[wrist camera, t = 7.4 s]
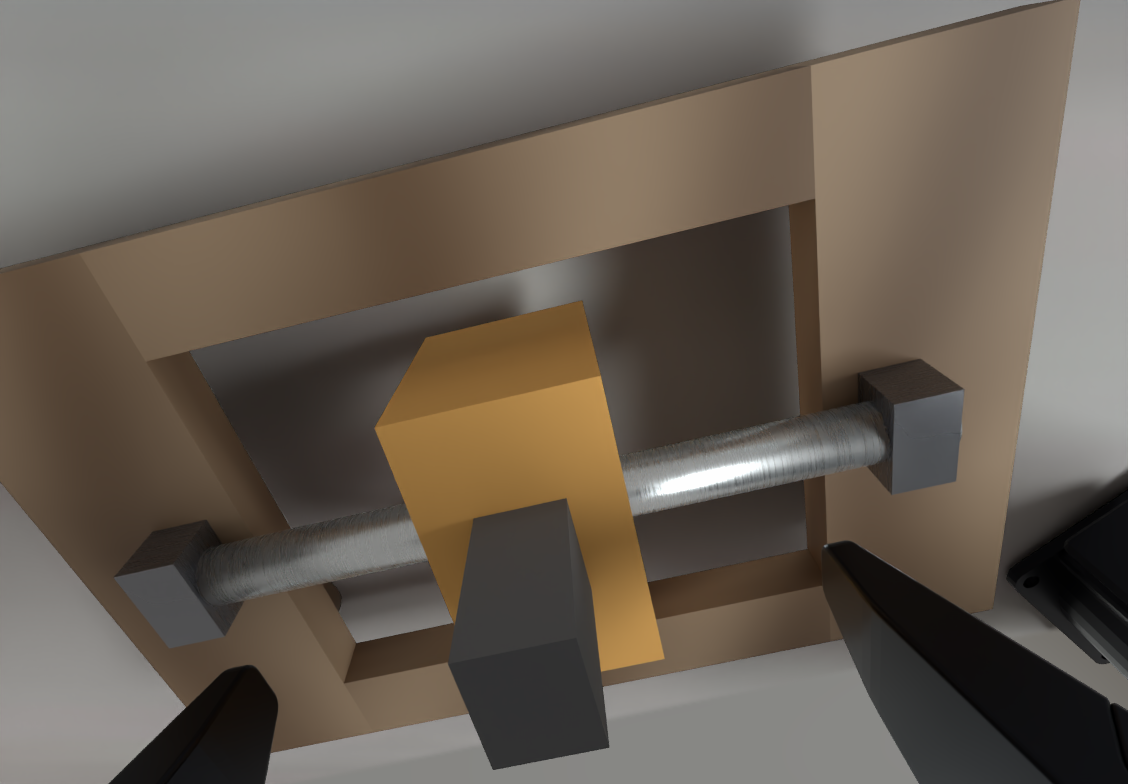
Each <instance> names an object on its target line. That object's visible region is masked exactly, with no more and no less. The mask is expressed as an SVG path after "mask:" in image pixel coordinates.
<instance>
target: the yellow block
mask: <svg viewBox="0 0 1128 784" xmlns="http://www.w3.org/2000/svg"><path fill="white" fill-rule="evenodd" d="M375 431H376V433H377V436H378V438H379V440H380V443H381V445H382V448H383V450H384V453H385V455H386V458H387V460H388V463H389V465H390V468H391V470H392V472H393V475H394V477H395V480H396V482H397V485H398V487H399V490H400V492H401V495H402V497H403V500H404V502H405V504H406V507H407V509H408V512H409V514H410V517H411V519H412V522H413V524H414V527H415V529H416V532H417V534H418V537H419V539H420V541H421V544H422V546H423V549H424V551H425V554H426V556H427V559H428V561H429V564H430V566H431V569H432V571H433V573H434V576H435V578H436V581H437V583H438V586H439V588H440V591H441V593H442V596H443V598H444V601H445V603H446V605H447V608H448V610H449V613H450V615H451V618H452V620H453V623H454V625H455V626H454V632H453V638H452V643H451V649H450V655H449V660H448V666H449V668H450V670H451V673H452V675H453V677H454V680H455V682H456V684H457V687H458V689H459V691H460V694H461V696H462V698H463V701H464V703H465V705H466V708H467V710H468V712H469V715H470V717H471V719H472V722H473V724H474V726H475V729H476V731H477V733H478V736H479V738H480V741H481V743H482V745H483V748H484V750H485V752H486V755H487V757H488V759H489V761H490V764H491V766H492V769H493V770H496V769H501V768H506V767H511V766H516V765H522V764H527V763H531V762H537V761H542V760H548V759H553V758H557V757H563V756H568V755H573V754H579V753H584V752H589V751H594V750H599V749H604V748H609V740H608V731H607V722H606V713H605V704H604V695H603V686H602V677H601V672H602V671H607V670H612V669H617V668H622V667H627V666H632V665H637V664H642V663H647V662H652V661H657V660H662V659H665V658H664V653H663V649H662V644H661V640H660V636H659V631H658V627H657V622H656V618H655V613H654V609H653V605H652V600H651V596H650V591H649V587H648V582H647V578H646V574H645V569H644V565H643V560H642V556H641V552H640V547H639V543H638V538H637V534H636V529H635V525H634V521H633V516H632V512H631V507H630V503H629V498H628V494H627V490H626V485H625V481H624V476H623V472H622V468H621V463H620V459H619V454H618V450H617V445H616V441H615V437H614V432H613V428H612V423H611V419H610V414H609V410H608V406H607V401H606V397H605V392H604V388H603V384H602V379H601V375H600V371H599V367H598V363H597V359H596V355H595V351H594V347H593V343H592V339H591V334H590V330H589V326H588V322H587V318H586V314H585V310H584V306H583V302H582V301H578V302H574V303H569V304H565V305H561V306H557V307H553V308H548V309H544V310H540V311H536V312H532V313H527V314H523V315H519V316H515V317H511V318H506V319H502V320H498V321H494V322H490V323H485V324H481V325H477V326H473V327H469V328H464V329H460V330H456V331H452V332H448V333H443V334H439V335H435V336H431V337H427V338H425V340H424V342H423V343H422V345H421V347H420V349H419V350H418V352H417V354H416V356H415V357H414V359H413V361H412V363H411V364H410V366H409V368H408V370H407V372H406V373H405V375H404V377H403V379H402V380H401V382H400V384H399V386H398V387H397V389H396V391H395V393H394V394H393V396H392V398H391V400H390V401H389V403H388V405H387V407H386V408H385V410H384V412H383V414H382V415H381V417H380V419H379V421H378V422H377V424H376V426H375Z"/></svg>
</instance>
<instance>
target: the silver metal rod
mask: <svg viewBox="0 0 1128 784" xmlns="http://www.w3.org/2000/svg"><path fill="white" fill-rule="evenodd" d="M964 390H965V389H963V388H962V387H961V386H959V385H958V384H956V383H955V382H953V381H952V380H951V379H949V378H948V377H946V376H945V375H943V374H942V373H941V372H939V371H938V370H936V369H935V368H933V367H932V366H931V365H929V364H928V363H926V362H925V361H923V360H922V359H917V360H912V361H908V362H904V363H899V364H895V365H890V366H886V367H881V368H877V369H873V370H868V371H864V372H859V373H858V403H856V404H851V405H847V406H842V407H838V408H833V409H829V410H824V411H820V412H815V413H811V414H806V415H802V416H797V417H793V418H788V419H784V420H779V421H775V422H770V423H766V424H761V425H757V426H752V427H748V428H743V429H739V430H734V431H730V432H725V433H721V434H716V435H712V436H707V437H703V438H698V439H694V440H689V441H685V442H680V443H676V444H671V445H667V446H662V447H658V448H653V449H649V450H644V451H640V452H635V453H631V454H626V455H622V456H619V459H620V463H621V468H622V472H623V476H624V481H625V485H626V490H627V494H628V498H629V503H630V507H631V512H632V516H633V517H634V516H638V515H643V514H648V513H652V512H657V511H661V510H666V509H671V508H675V507H680V506H685V505H689V504H694V503H698V502H703V501H708V500H712V499H717V498H722V497H726V496H731V495H736V494H740V493H745V492H749V491H754V490H759V489H763V488H768V487H773V486H777V485H782V484H787V483H791V482H796V481H800V480H805V479H810V478H814V477H819V476H824V475H828V474H833V473H838V472H842V471H847V470H851V469H856V468H861V467H865V466H867V468H868V469H869V470H870V471H871V472H872V473H873V474H874V475H875V477H876V478H877V479H878V480H879V481H880V482H881V483H882V485H883V486H884V487H885V488H886V489H887V490H888V491H889V492H890V494H891V495H894V494H899V493H904V492H909V491H913V490H918V489H923V488H927V487H932V486H937V485H942V484H946V483H951V482H956V477H957V467H958V456H959V445H960V440H961V437H962V412H963V401H964ZM425 561H428V559H427V556H426V554H425V551H424V549H423V546H422V544H421V541H420V539H419V537H418V534H417V532H416V529H415V527H414V524H413V522H412V519H411V517H410V514H409V512H408V509H407V507H406V504H401V505H397V506H392V507H388V508H383V509H379V510H374V511H370V512H365V513H361V514H356V515H352V516H347V517H343V518H338V519H334V520H329V521H325V522H320V523H316V524H311V525H307V526H302V527H298V528H293V529H289V530H284V531H280V532H275V533H271V534H266V535H262V536H257V537H253V538H248V539H244V540H239V541H235V542H230V543H226V544H222V543H221V541H220V540H219V538H218V536H217V535H216V533H215V532H214V530H213V529H212V527H211V526H210V524H209V523H208V521H207V520H202V521H198V522H193V523H189V524H184V525H180V526H175V527H171V528H167V529H162V530H158V531H153V532H152V533H151V534H150V535H149V536H148V537H147V538H146V540H145V541H144V542H143V543H142V544H141V546H140V547H139V548H138V549H137V550H136V551H135V553H134V554H133V555H132V556H131V557H130V559H129V560H128V561H127V562H126V563H125V564H124V566H123V567H122V568H121V569H120V570H119V572H118V573H117V574H116V575H115V576H114V577H113V578H114V579H115V580H116V582H117V583H118V584H119V585H120V587H121V588H122V589H123V590H124V592H125V593H126V594H127V596H128V597H129V598H130V599H131V601H132V602H133V603H134V604H135V606H136V607H137V608H138V609H139V611H140V612H141V613H142V615H143V616H144V617H145V618H146V620H147V621H148V622H149V623H150V625H151V626H152V627H153V628H154V630H155V631H156V632H157V634H158V635H159V636H160V637H161V639H162V640H163V641H164V642H165V644H166V645H167V646H168V647H169V649H170V648H174V647H179V646H184V645H188V644H193V643H198V642H202V641H207V640H212V639H217V638H221V637H225V636H226V634H227V632H228V630H229V628H230V627H231V625H232V623H233V621H234V619H235V617H236V616H237V614H238V612H239V610H240V608H241V607H242V605H243V603H244V601H245V600H249V599H254V598H258V597H263V596H268V595H272V594H277V593H281V592H286V591H291V590H295V589H300V588H305V587H309V586H314V585H319V584H323V583H328V582H332V581H337V580H342V579H346V578H351V577H356V576H360V575H365V574H369V573H374V572H379V571H383V570H388V569H393V568H397V567H402V566H407V565H411V564H416V563H420V562H425Z"/></svg>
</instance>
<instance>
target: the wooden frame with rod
mask: <svg viewBox="0 0 1128 784" xmlns="http://www.w3.org/2000/svg"><path fill="white" fill-rule="evenodd" d="M1079 6H1080V0H1054V1H1048V2H1042V3H1035V4H1029V5H1023V6H1019V7H1015V8H1011V9H1007V10H1003V11H999V12H995V13H991V14H988V15H984V16H980V17H976V18H972V19H968V20H964V21H960V22H956V23H953V24H949V25H945V26H941V27H937V28H933V29H929V30H925V31H921V32H918V33H914V34H910V35H906V36H902V37H898V38H894V39H890V40H887V41H883V42H879V43H875V44H871V45H867V46H863V47H859V48H855V49H852V50H848V51H844V52H840V53H836V54H832V55H828V56H824V57H820V58H817V59H813V60H809V61H805V62H801V63H797V64H793V65H789V66H786V67H782V68H778V69H774V70H770V71H766V72H762V73H758V74H754V75H751V76H747V77H743V78H739V79H735V80H731V81H727V82H723V83H719V84H716V85H712V86H708V87H704V88H700V89H696V90H692V91H688V92H684V93H681V94H677V95H673V96H669V97H665V98H661V99H657V100H653V101H650V102H646V103H642V104H638V105H634V106H630V107H626V108H622V109H618V110H615V111H611V112H607V113H603V114H599V115H595V116H591V117H587V118H583V119H580V120H576V121H572V122H568V123H564V124H560V125H556V126H552V127H549V128H545V129H541V130H537V131H533V132H529V133H525V134H521V135H517V136H514V137H510V138H506V139H502V140H498V141H494V142H490V143H486V144H482V145H479V146H475V147H471V148H467V149H463V150H459V151H455V152H451V153H447V154H444V155H440V156H436V157H432V158H428V159H424V160H420V161H416V162H413V163H409V164H405V165H401V166H397V167H393V168H389V169H385V170H381V171H378V172H374V173H370V174H366V175H362V176H358V177H354V178H350V179H346V180H343V181H339V182H335V183H331V184H327V185H323V186H319V187H315V188H312V189H308V190H304V191H300V192H296V193H292V194H288V195H284V196H280V197H277V198H273V199H269V200H265V201H261V202H257V203H253V204H249V205H245V206H242V207H238V208H234V209H230V210H226V211H222V212H218V213H214V214H211V215H207V216H203V217H199V218H195V219H191V220H187V221H183V222H179V223H176V224H172V225H168V226H164V227H160V228H156V229H152V230H148V231H144V232H141V233H137V234H133V235H129V236H125V237H121V238H117V239H113V240H109V241H106V242H102V243H98V244H94V245H90V246H86V247H82V248H78V249H75V250H71V251H67V252H63V253H59V254H55V255H51V256H47V257H43V258H40V259H36V260H32V261H28V262H24V263H20V264H16V265H12V266H8V267H5V268H1V269H0V482H1V483H2V485H3V486H4V487H5V488H6V490H7V491H8V492H9V493H10V494H11V496H12V497H13V498H14V499H15V500H16V502H17V503H18V504H19V505H20V506H21V508H22V509H23V510H24V511H25V513H26V514H27V515H28V516H29V517H30V519H31V520H32V521H33V522H34V523H35V525H36V526H37V527H38V528H39V529H40V531H41V532H42V533H43V534H44V536H45V537H46V538H47V539H48V540H49V542H50V543H51V544H52V545H53V546H54V548H55V549H56V550H57V551H58V553H59V554H60V555H61V556H62V557H63V559H64V560H65V561H66V562H67V563H68V565H69V566H70V567H71V568H72V569H73V571H74V572H75V573H76V574H77V576H78V577H79V578H80V579H81V580H82V582H83V583H84V584H85V585H86V586H87V588H88V589H89V590H90V591H91V592H92V594H93V595H94V596H95V597H96V599H97V600H98V601H99V602H100V603H101V605H102V606H103V607H104V608H105V609H106V611H107V612H108V613H109V614H110V616H111V617H112V618H113V619H114V620H115V622H116V623H117V624H118V625H119V626H120V628H121V629H122V630H123V631H124V632H125V634H126V635H127V636H128V637H129V639H130V640H131V641H132V642H133V643H134V645H135V646H136V647H137V648H138V649H139V651H140V652H141V653H142V654H143V655H144V657H145V658H146V659H147V660H148V662H149V663H150V664H151V665H152V666H153V668H154V669H155V670H156V671H157V672H158V674H159V675H160V676H161V677H162V679H163V680H164V681H165V682H166V683H167V685H168V686H169V687H170V688H171V689H172V691H173V692H174V693H175V694H176V695H177V697H178V698H179V699H180V700H181V702H182V703H183V704H184V705H185V706H186V707H187V706H188V705H189V704H190V703H191V702H192V701H193V700H194V699H195V698H196V697H197V696H198V695H199V694H200V693H202V692H203V691H204V690H205V689H206V688H207V687H208V686H209V685H210V684H211V683H212V682H213V681H214V680H215V679H216V678H217V677H218V676H219V675H220V674H221V673H222V672H223V671H225V670H227V669H229V668H234V667H239V666H243V665H253V666H255V667H256V668H257V669H258V670H259V671H260V673H261V674H262V676H263V677H264V678H265V680H266V681H267V683H268V684H269V685H270V687H271V688H272V690H273V691H274V693H275V694H276V696H277V699H278V716H277V721H276V727H275V732H274V737H273V743H272V748H271V753H273V752H278V751H283V750H288V749H293V748H298V747H303V746H308V745H313V744H318V743H323V742H328V741H333V740H338V739H343V738H348V737H353V736H358V735H363V734H368V733H373V732H378V731H383V730H388V729H393V728H398V727H403V726H408V725H413V724H418V723H423V722H428V721H433V720H438V719H443V718H448V717H453V716H458V715H463V714H469V712H468V710H467V708H466V705H465V703H464V701H463V698H462V696H461V694H460V691H459V689H458V687H457V684H456V682H455V680H454V677H453V675H452V673H451V670H450V668H449V666H448V660H449V655H450V649H451V643H452V638H453V632H454V626H455V625H454V623H451V624H447V625H442V626H437V627H432V628H427V629H423V630H418V631H413V632H408V633H404V634H399V635H394V636H389V637H384V638H380V639H375V640H370V641H365V642H360V643H356V642H355V640H354V638H353V637H352V635H351V633H350V632H349V630H348V628H347V626H346V625H345V623H344V621H343V619H342V618H341V616H340V614H339V609H340V606H341V595H340V593H339V591H338V589H337V588H336V587H335V586H334V585H333V584H332V583H330V582H328V583H323V584H319V585H314V586H309V587H305V588H300V589H295V590H291V591H286V592H281V593H277V594H272V595H268V596H263V597H258V598H254V599H249V600H245V601H244V603H243V605H242V607H241V608H240V610H239V612H238V614H237V616H236V617H235V619H234V621H233V623H232V625H231V627H230V628H229V630H228V632H227V634H226V636H225V637H221V638H217V639H212V640H207V641H202V642H198V643H193V644H188V645H184V646H179V647H174V648H170V649H169V647H168V646H167V645H166V644H165V642H164V641H163V640H162V639H161V637H160V636H159V635H158V634H157V632H156V631H155V630H154V628H153V627H152V626H151V625H150V623H149V622H148V621H147V620H146V618H145V617H144V616H143V615H142V613H141V612H140V611H139V609H138V608H137V607H136V606H135V604H134V603H133V602H132V601H131V599H130V598H129V597H128V596H127V594H126V593H125V592H124V590H123V589H122V588H121V587H120V585H119V584H118V583H117V582H116V580H115V579H114V578H113V577H114V576H115V575H116V574H117V573H118V572H119V570H120V569H121V568H122V567H123V566H124V564H125V563H126V562H127V561H128V560H129V559H130V557H131V556H132V555H133V554H134V553H135V551H136V550H137V549H138V548H139V547H140V546H141V544H142V543H143V542H144V541H145V540H146V538H147V537H148V536H149V535H150V534H151V533H152V532H153V531H158V530H162V529H167V528H171V527H175V526H180V525H184V524H189V523H193V522H198V521H202V520H207V521H208V523H209V524H210V526H211V527H212V529H213V530H214V532H215V533H216V535H217V536H218V538H219V540H220V541H221V543H222V544H226V543H230V542H235V541H239V540H244V539H248V538H253V537H257V536H262V535H266V534H271V533H275V532H280V531H284V530H289V529H291V528H290V527H289V525H288V523H287V521H286V520H285V518H284V516H283V514H282V513H281V511H280V509H279V508H278V506H277V504H276V502H275V501H274V499H273V497H272V495H271V494H270V492H269V490H268V488H267V487H266V485H265V483H264V481H263V480H262V478H261V476H260V474H259V473H258V471H257V469H256V467H255V466H254V464H253V462H252V460H251V459H250V457H249V455H248V453H247V452H246V450H245V448H244V446H243V445H242V443H241V441H240V439H239V438H238V436H237V434H236V432H235V431H234V429H233V427H232V425H231V424H230V422H229V420H228V418H227V417H226V415H225V413H224V411H223V410H222V408H221V406H220V404H219V403H218V401H217V399H216V397H215V396H214V394H213V392H212V390H211V389H210V387H209V385H208V384H207V382H206V380H205V378H204V377H203V375H202V373H201V371H200V370H199V368H198V366H197V364H196V363H195V361H194V359H193V357H192V356H191V354H190V352H189V351H191V350H195V349H199V348H204V347H208V346H212V345H216V344H220V343H224V342H228V341H232V340H236V339H240V338H245V337H249V336H253V335H257V334H261V333H265V332H269V331H273V330H277V329H282V328H286V327H290V326H294V325H298V324H302V323H306V322H310V321H314V320H319V319H323V318H327V317H331V316H335V315H339V314H343V313H347V312H351V311H355V310H360V309H364V308H368V307H372V306H376V305H380V304H384V303H388V302H392V301H397V300H401V299H405V298H409V297H413V296H417V295H421V294H425V293H429V292H433V291H438V290H442V289H446V288H450V287H454V286H458V285H462V284H466V283H470V282H475V281H479V280H483V279H487V278H491V277H495V276H499V275H503V274H507V273H512V272H516V271H520V270H524V269H528V268H532V267H536V266H540V265H544V264H548V263H553V262H557V261H561V260H565V259H569V258H573V257H577V256H581V255H585V254H590V253H594V252H598V251H602V250H606V249H610V248H614V247H618V246H622V245H626V244H631V243H635V242H639V241H643V240H647V239H651V238H655V237H659V236H663V235H668V234H672V233H676V232H680V231H684V230H688V229H692V228H696V227H700V226H705V225H709V224H713V223H717V222H721V221H725V220H729V219H733V218H737V217H741V216H746V215H750V214H754V213H758V212H762V211H766V210H770V209H774V208H778V207H783V206H787V205H789V217H790V236H791V254H792V272H793V291H794V309H795V327H796V345H797V364H798V382H799V400H800V416H802V415H806V414H811V413H815V412H820V411H824V410H829V409H833V408H838V407H842V406H847V405H851V404H856V403H858V373H859V372H864V371H868V370H873V369H877V368H881V367H886V366H890V365H895V364H899V363H904V362H908V361H912V360H917V359H922V360H923V361H925V362H926V363H928V364H929V365H931V366H932V367H933V368H935V369H936V370H938V371H939V372H941V373H942V374H943V375H945V376H946V377H948V378H949V379H951V380H952V381H953V382H955V383H956V384H958V385H959V386H961V387H962V388H963V389H965V390H964V401H963V412H962V437H961V440H960V445H959V456H958V467H957V477H956V482H951V483H946V484H942V485H937V486H932V487H927V488H923V489H918V490H913V491H909V492H904V493H899V494H894V495H891V494H890V492H889V491H888V490H887V489H886V488H885V487H884V486H883V485H882V483H881V482H880V481H879V480H878V479H877V478H876V477H875V475H874V474H873V473H872V472H871V471H870V470H869V469H868V468H867V466H865V467H861V468H856V469H851V470H847V471H842V472H838V473H833V474H828V475H824V476H819V477H814V478H810V479H805V480H804V492H805V510H806V528H807V547H808V549H806V550H801V551H796V552H791V553H787V554H782V555H777V556H772V557H767V558H763V559H758V560H753V561H748V562H744V563H739V564H734V565H729V566H724V567H720V568H715V569H710V570H705V571H700V572H696V573H691V574H686V575H681V576H676V577H672V578H667V579H662V580H657V581H653V582H648V587H649V591H650V596H651V600H652V605H653V609H654V613H655V618H656V622H657V627H658V631H659V636H660V640H661V644H662V649H663V653H664V658H665V659H662V660H657V661H652V662H647V663H642V664H637V665H632V666H627V667H622V668H617V669H612V670H607V671H602V672H601V677H602V686H603V687H604V686H609V685H614V684H619V683H624V682H629V681H634V680H639V679H644V678H649V677H654V676H659V675H664V674H669V673H674V672H679V671H684V670H689V669H694V668H699V667H704V666H709V665H714V664H720V663H725V662H730V661H735V660H740V659H745V658H750V657H755V656H760V655H765V654H770V653H775V652H780V651H785V650H790V649H795V648H800V647H805V646H810V645H815V644H820V643H825V642H830V641H835V640H840V639H844V638H843V636H842V634H841V632H840V629H839V627H838V625H837V623H836V620H835V618H834V616H833V614H832V611H831V609H830V607H829V605H828V602H827V600H826V597H825V594H824V591H823V586H822V566H821V550H822V547H823V546H824V545H826V544H830V543H835V542H839V541H844V540H849V541H852V542H855V543H856V544H858V545H860V546H861V547H863V548H864V549H866V550H868V551H869V552H871V553H873V554H874V555H876V556H877V557H879V558H881V559H882V560H884V561H886V562H887V563H889V564H890V565H892V566H894V567H895V568H897V569H899V570H900V571H902V572H903V573H905V574H907V575H908V576H910V577H912V578H913V579H915V580H916V581H918V582H920V583H921V584H923V585H925V586H926V587H928V588H929V589H931V590H933V591H934V592H936V593H938V594H939V595H941V596H942V597H944V598H946V599H947V600H949V601H951V602H952V603H954V604H955V605H957V606H959V607H960V608H962V609H964V610H965V611H967V612H968V613H970V614H971V613H976V612H981V611H986V610H991V609H993V604H994V597H995V590H996V583H997V576H998V569H999V562H1000V555H1001V548H1002V541H1003V534H1004V527H1005V520H1006V514H1007V507H1008V500H1009V493H1010V486H1011V479H1012V472H1013V465H1014V458H1015V451H1016V444H1017V437H1018V430H1019V423H1020V416H1021V409H1022V402H1023V395H1024V388H1025V382H1026V375H1027V368H1028V361H1029V354H1030V347H1031V340H1032V333H1033V326H1034V319H1035V312H1036V305H1037V298H1038V291H1039V284H1040V277H1041V270H1042V263H1043V256H1044V249H1045V243H1046V236H1047V229H1048V222H1049V215H1050V208H1051V201H1052V194H1053V187H1054V180H1055V173H1056V166H1057V159H1058V152H1059V145H1060V138H1061V131H1062V124H1063V117H1064V110H1065V104H1066V97H1067V90H1068V83H1069V76H1070V69H1071V62H1072V55H1073V48H1074V41H1075V34H1076V27H1077V20H1078V13H1079Z"/></svg>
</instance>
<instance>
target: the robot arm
mask: <svg viewBox="0 0 1128 784" xmlns="http://www.w3.org/2000/svg"><path fill="white" fill-rule="evenodd" d="M821 566H822V586H823V591H824V594H825V597H826V600H827V602H828V605H829V607H830V609H831V611H832V614H833V616H834V618H835V620H836V623H837V625H838V627H839V629H840V632H841V634H842V636H843V638H844V641H845V643H846V645H847V647H848V650H849V652H850V654H851V656H852V659H853V661H854V663H855V665H856V668H857V670H858V672H859V674H860V677H861V679H862V681H863V683H864V686H865V688H866V690H867V692H868V694H869V696H870V698H871V700H872V702H873V704H874V706H875V708H876V709H877V711H878V713H879V715H880V717H881V718H882V720H883V722H884V724H885V725H886V727H887V729H888V731H889V732H890V734H891V736H892V737H893V739H894V741H895V743H896V745H897V746H898V748H899V750H900V751H901V753H902V755H903V757H904V758H905V760H906V762H907V764H908V765H909V767H910V769H911V771H912V772H913V774H914V776H915V778H916V779H917V781H918V783H919V784H1128V710H1126V709H1125V708H1123V707H1122V706H1120V705H1118V704H1116V703H1112V704H1110V702H1109V700H1108V698H1106V697H1105V696H1103V695H1102V694H1100V693H1098V692H1097V691H1095V690H1093V689H1092V688H1090V687H1088V686H1087V685H1085V684H1084V683H1082V682H1080V681H1079V680H1077V679H1075V678H1074V677H1072V676H1071V675H1069V674H1067V673H1066V672H1064V671H1063V670H1061V669H1059V668H1058V667H1056V666H1054V665H1053V664H1051V663H1049V662H1048V661H1046V660H1045V659H1043V658H1041V657H1040V656H1038V655H1037V654H1035V653H1033V652H1032V651H1030V650H1028V649H1027V648H1025V647H1024V646H1022V645H1020V644H1019V643H1017V642H1015V641H1014V640H1012V639H1011V638H1009V637H1007V636H1006V635H1004V634H1002V633H1001V632H999V631H998V630H996V629H994V628H993V627H991V626H990V625H988V624H986V623H985V622H983V621H981V620H980V619H978V618H977V617H975V616H973V615H972V614H970V613H968V612H967V611H965V610H964V609H962V608H960V607H959V606H957V605H955V604H954V603H952V602H951V601H949V600H947V599H946V598H944V597H942V596H941V595H939V594H938V593H936V592H934V591H933V590H931V589H929V588H928V587H926V586H925V585H923V584H921V583H920V582H918V581H916V580H915V579H913V578H912V577H910V576H908V575H907V574H905V573H903V572H902V571H900V570H899V569H897V568H895V567H894V566H892V565H890V564H889V563H887V562H886V561H884V560H882V559H881V558H879V557H877V556H876V555H874V554H873V553H871V552H869V551H868V550H866V549H864V548H863V547H861V546H860V545H858V544H856V543H855V542H852V541H849V540H844V541H839V542H835V543H830V544H826V545H824V546H823V547H822V550H821ZM1007 580H1008V582H1009V583H1010V584H1011V585H1012V586H1013V587H1014V588H1015V589H1016V590H1017V592H1019V593H1020V594H1021V595H1022V596H1023V597H1024V598H1025V599H1026V600H1027V601H1029V602H1030V603H1031V604H1032V605H1033V606H1034V607H1035V608H1036V609H1037V610H1038V611H1040V612H1041V613H1042V614H1043V615H1044V616H1045V617H1046V618H1047V619H1048V620H1050V621H1051V622H1052V623H1053V624H1054V625H1055V626H1056V627H1057V628H1058V629H1059V630H1061V631H1062V632H1063V633H1064V634H1065V635H1066V636H1067V637H1068V638H1069V639H1071V640H1072V641H1073V642H1074V643H1075V644H1076V645H1077V646H1078V647H1079V648H1080V649H1082V650H1083V651H1084V652H1085V653H1086V654H1087V655H1088V656H1089V657H1090V658H1092V659H1093V660H1094V661H1095V662H1096V663H1099V664H1107V663H1111V664H1112V665H1113V666H1114V667H1115V668H1116V669H1117V670H1118V671H1119V672H1120V673H1121V674H1122V675H1123V676H1124V677H1125V678H1126V679H1127V680H1128V490H1127V491H1126V492H1124V493H1123V494H1121V495H1120V496H1118V497H1117V498H1115V499H1114V500H1112V501H1111V502H1109V503H1108V504H1106V505H1105V506H1103V507H1102V508H1100V509H1099V510H1097V511H1096V512H1094V513H1093V514H1091V515H1090V516H1088V517H1087V518H1085V519H1084V520H1082V521H1081V522H1079V523H1078V524H1076V525H1075V526H1073V527H1072V528H1070V529H1069V530H1067V531H1066V532H1064V533H1063V534H1061V535H1060V536H1058V537H1057V538H1055V539H1054V540H1052V541H1051V542H1049V543H1048V544H1046V545H1045V546H1043V547H1042V548H1040V549H1039V550H1037V551H1036V552H1034V553H1033V554H1031V555H1030V556H1028V557H1027V558H1025V559H1024V560H1022V561H1021V562H1019V563H1018V564H1016V565H1015V566H1014V567H1013V568H1011V569H1010V570H1009V572H1008V574H1007ZM277 716H278V699H277V696H276V694H275V693H274V691H273V690H272V688H271V687H270V685H269V684H268V683H267V681H266V680H265V678H264V677H263V676H262V674H261V673H260V671H259V670H258V669H257V668H256V667H255V666H253V665H243V666H239V667H234V668H229V669H227V670H225V671H223V672H222V673H221V674H220V675H219V676H218V677H217V678H216V679H215V680H214V681H213V682H212V683H211V684H210V685H209V686H208V687H207V688H206V689H205V690H204V691H203V692H202V693H200V694H199V695H198V696H197V697H196V698H195V699H194V700H193V701H192V702H191V703H190V704H189V705H188V706H187V707H186V708H185V709H184V710H183V711H182V712H181V713H180V714H179V715H178V716H177V717H176V718H175V719H174V720H173V721H172V722H171V723H170V724H169V725H168V726H167V727H166V728H165V729H164V730H163V731H162V732H161V733H160V734H159V735H158V736H157V737H156V738H155V739H154V740H153V741H152V742H151V743H149V744H148V745H147V746H146V747H145V748H144V749H143V750H142V751H141V752H140V753H139V754H138V755H137V756H136V757H135V758H134V759H133V760H132V761H131V762H130V763H129V764H128V765H127V766H126V767H125V768H124V769H123V770H122V771H121V772H120V773H119V774H118V775H117V776H116V777H115V778H114V779H113V780H112V781H111V782H110V783H109V784H265V780H266V775H267V770H268V764H269V759H270V754H271V748H272V743H273V737H274V732H275V727H276V721H277Z"/></svg>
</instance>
